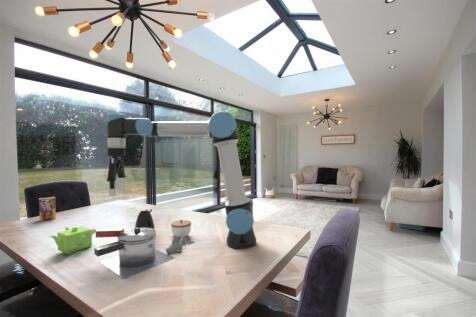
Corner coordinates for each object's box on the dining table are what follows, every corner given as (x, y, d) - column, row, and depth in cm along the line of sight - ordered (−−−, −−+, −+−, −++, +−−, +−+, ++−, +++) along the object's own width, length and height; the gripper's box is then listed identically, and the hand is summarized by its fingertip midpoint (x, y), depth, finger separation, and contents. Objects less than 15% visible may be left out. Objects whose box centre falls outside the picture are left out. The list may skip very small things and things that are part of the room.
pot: (144, 249, 112) (144, 228, 112) (162, 258, 103) (162, 235, 103) (89, 268, 94) (88, 243, 94) (104, 281, 85) (104, 253, 85)
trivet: (175, 260, 103) (175, 258, 103) (124, 281, 86) (123, 278, 86) (147, 247, 117) (147, 245, 117) (99, 263, 100) (99, 261, 100)
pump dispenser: (159, 235, 135) (158, 208, 135) (144, 241, 126) (144, 212, 125) (145, 233, 139) (145, 206, 139) (130, 238, 130) (130, 210, 129)
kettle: (49, 259, 105) (48, 233, 105) (63, 247, 119) (62, 224, 119) (87, 255, 109) (87, 230, 109) (97, 244, 123) (96, 222, 123)
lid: (159, 229, 110) (159, 222, 110) (150, 241, 95) (150, 233, 95) (105, 231, 107) (105, 224, 107) (88, 243, 93) (88, 235, 93)
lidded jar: (186, 240, 127) (186, 223, 126) (167, 239, 129) (167, 221, 129) (194, 234, 137) (194, 217, 137) (176, 232, 139) (176, 216, 139)
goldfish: (173, 237, 128) (186, 225, 127) (186, 250, 128) (198, 239, 127) (157, 254, 108) (172, 240, 107) (172, 270, 108) (187, 257, 107)
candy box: (55, 217, 174) (55, 196, 173) (55, 218, 170) (55, 197, 170) (39, 219, 168) (39, 198, 168) (39, 221, 165) (38, 198, 164)
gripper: (115, 148, 122) (115, 189, 123) (98, 146, 98) (98, 198, 98) (131, 148, 124) (131, 189, 124) (118, 147, 100) (118, 198, 100)
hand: (117, 193), depth 111 cm, fingers open, 13 cm apart
